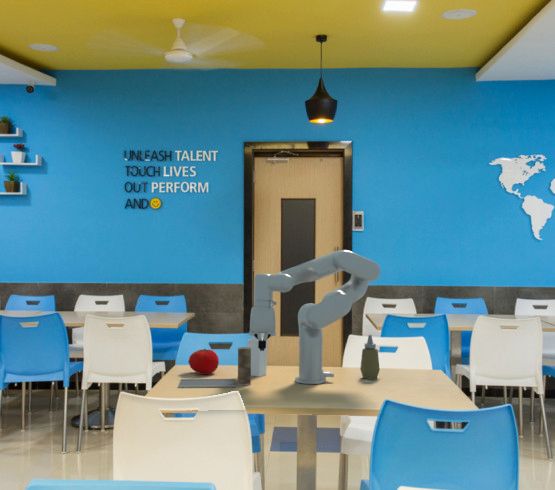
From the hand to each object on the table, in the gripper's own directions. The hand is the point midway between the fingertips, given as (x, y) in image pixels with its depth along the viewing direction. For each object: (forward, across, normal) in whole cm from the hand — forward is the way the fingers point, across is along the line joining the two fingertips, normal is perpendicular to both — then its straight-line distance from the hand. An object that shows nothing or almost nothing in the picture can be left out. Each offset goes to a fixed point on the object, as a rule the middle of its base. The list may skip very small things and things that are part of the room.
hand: (262, 350), depth 233 cm
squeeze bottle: (+12, -46, -9) cm, 49 cm away
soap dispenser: (+13, +1, -17) cm, 22 cm away
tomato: (+14, +24, -22) cm, 35 cm away
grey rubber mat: (+13, +21, 0) cm, 25 cm away
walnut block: (+13, +7, 0) cm, 15 cm away
